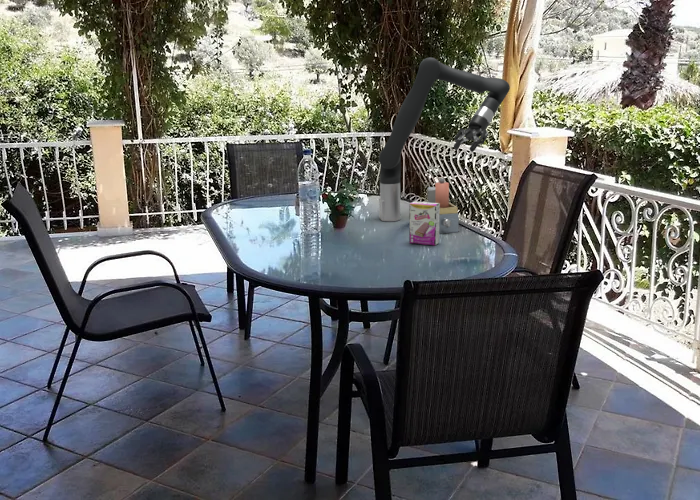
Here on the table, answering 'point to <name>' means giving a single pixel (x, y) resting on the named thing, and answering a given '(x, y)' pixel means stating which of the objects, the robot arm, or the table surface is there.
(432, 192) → the skincare box
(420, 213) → the candy bar box
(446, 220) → the grey tan open box
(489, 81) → the robot arm
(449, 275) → the table surface
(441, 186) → the oil can
